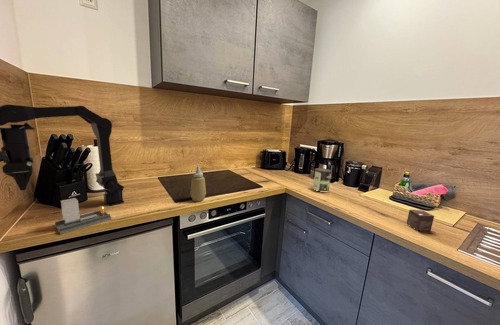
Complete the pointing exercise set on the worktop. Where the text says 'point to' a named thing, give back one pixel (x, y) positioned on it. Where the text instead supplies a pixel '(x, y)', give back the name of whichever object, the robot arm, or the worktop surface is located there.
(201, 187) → the squeeze bottle
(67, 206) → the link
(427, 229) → the box
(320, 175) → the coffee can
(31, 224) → the worktop surface
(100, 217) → the rail
